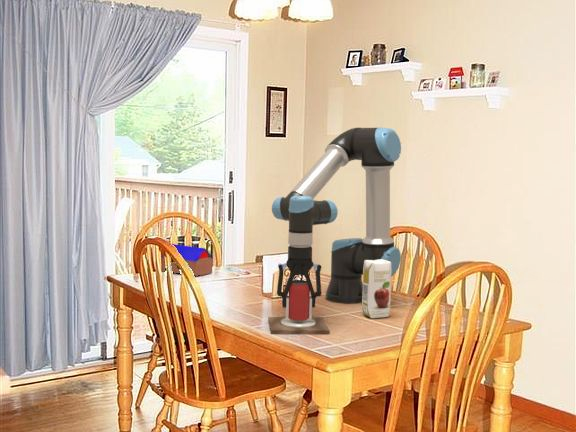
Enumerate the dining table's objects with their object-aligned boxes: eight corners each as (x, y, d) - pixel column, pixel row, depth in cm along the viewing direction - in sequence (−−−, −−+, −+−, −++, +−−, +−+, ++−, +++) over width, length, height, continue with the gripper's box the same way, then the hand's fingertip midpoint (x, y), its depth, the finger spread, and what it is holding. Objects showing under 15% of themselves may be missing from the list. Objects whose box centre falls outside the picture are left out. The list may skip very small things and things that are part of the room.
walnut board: (323, 320, 226) (323, 317, 225) (329, 334, 210) (329, 330, 210) (268, 320, 224) (268, 316, 224) (270, 334, 208) (271, 330, 208)
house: (195, 276, 294) (196, 249, 293) (161, 271, 305) (161, 245, 304) (213, 272, 304) (213, 246, 303) (178, 267, 315) (179, 242, 314)
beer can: (287, 316, 220) (288, 279, 218) (307, 316, 220) (308, 279, 219) (288, 321, 213) (289, 283, 212) (309, 321, 214) (310, 284, 212)
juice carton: (359, 313, 236) (361, 259, 234) (380, 312, 239) (382, 258, 237) (370, 319, 229) (372, 263, 227) (392, 317, 232) (394, 262, 230)
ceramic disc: (313, 319, 223) (313, 317, 223) (317, 328, 212) (317, 326, 212) (279, 318, 222) (279, 317, 222) (281, 328, 211) (282, 326, 211)
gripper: (329, 244, 219) (327, 314, 221) (268, 243, 217) (267, 314, 220) (332, 247, 211) (330, 320, 214) (269, 247, 210) (268, 320, 212)
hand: (298, 317), depth 217 cm, fingers closed on beer can, 6 cm apart
